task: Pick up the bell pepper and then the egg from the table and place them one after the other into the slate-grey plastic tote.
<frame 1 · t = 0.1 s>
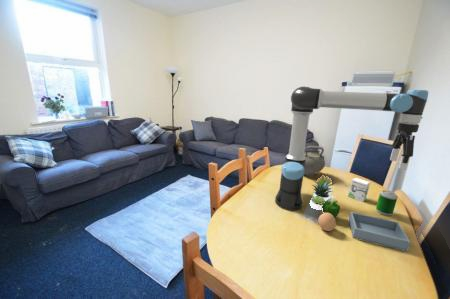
hand: (397, 164, 106), 28 cm above the table, fingers open, 13 cm apart
bell pepper: (328, 218, 107), on the table
soda can: (383, 212, 114), on the table
tote: (374, 234, 96), on the table
pot: (308, 174, 162), on the table
ink box: (356, 198, 128), on the table
egg: (325, 229, 98), on the table
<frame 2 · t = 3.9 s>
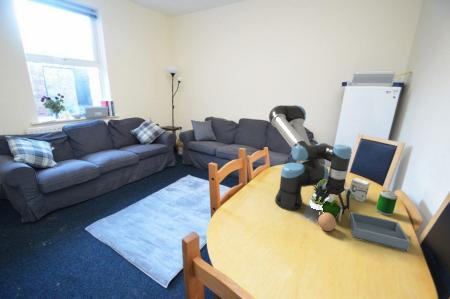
hand: (329, 217, 107), 0 cm above the table, fingers closed on bell pepper, 8 cm apart
bell pepper: (328, 218, 107), on the table, touching gripper
everything else where it was.
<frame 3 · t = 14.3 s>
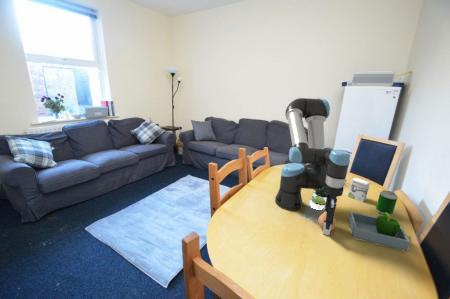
hand: (325, 228, 98), 0 cm above the table, fingers closed on egg, 7 cm apart
bell pepper: (384, 234, 95), point 1 cm above the table, touching tote
egg: (325, 229, 98), on the table, touching gripper
everything else where it was.
when the fingers open (5 cm above the table, at t = 18.9 s): egg drops 4 cm, resting on tote.
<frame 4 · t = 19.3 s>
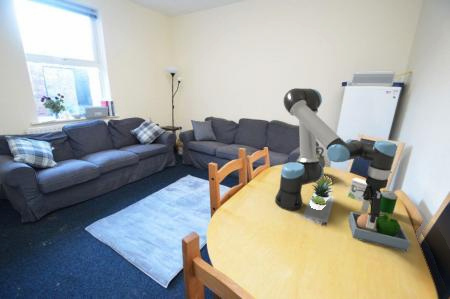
hand: (366, 219, 96), 6 cm above the table, fingers open, 12 cm apart
egg: (364, 230, 97), point 1 cm above the table, touching tote
everything else where it was.
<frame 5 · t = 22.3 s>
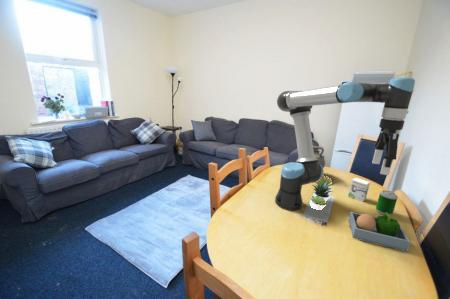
hand: (379, 168, 89), 32 cm above the table, fingers open, 13 cm apart
nothing on the table moved.
at the end: bell pepper inside the target area on the tote (3.8 cm from its centre), point 0.6 cm above the tote's base; egg inside the target area on the tote (4.5 cm from its centre), point 0.6 cm above the tote's base; the gripper is holding nothing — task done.
